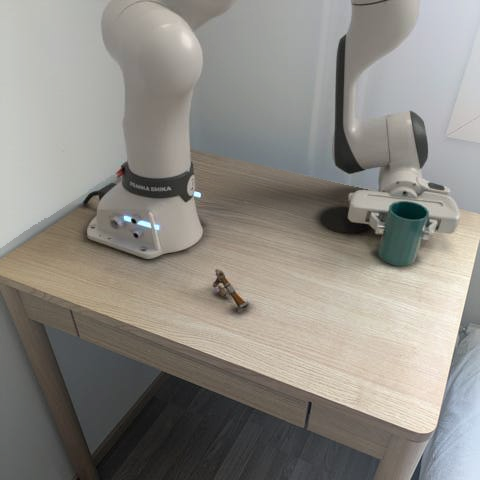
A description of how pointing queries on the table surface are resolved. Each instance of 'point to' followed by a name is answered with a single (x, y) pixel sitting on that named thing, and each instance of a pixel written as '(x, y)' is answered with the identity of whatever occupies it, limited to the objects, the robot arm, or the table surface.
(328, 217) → the coaster
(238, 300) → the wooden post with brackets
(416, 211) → the cup
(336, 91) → the robot arm
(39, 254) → the table surface
